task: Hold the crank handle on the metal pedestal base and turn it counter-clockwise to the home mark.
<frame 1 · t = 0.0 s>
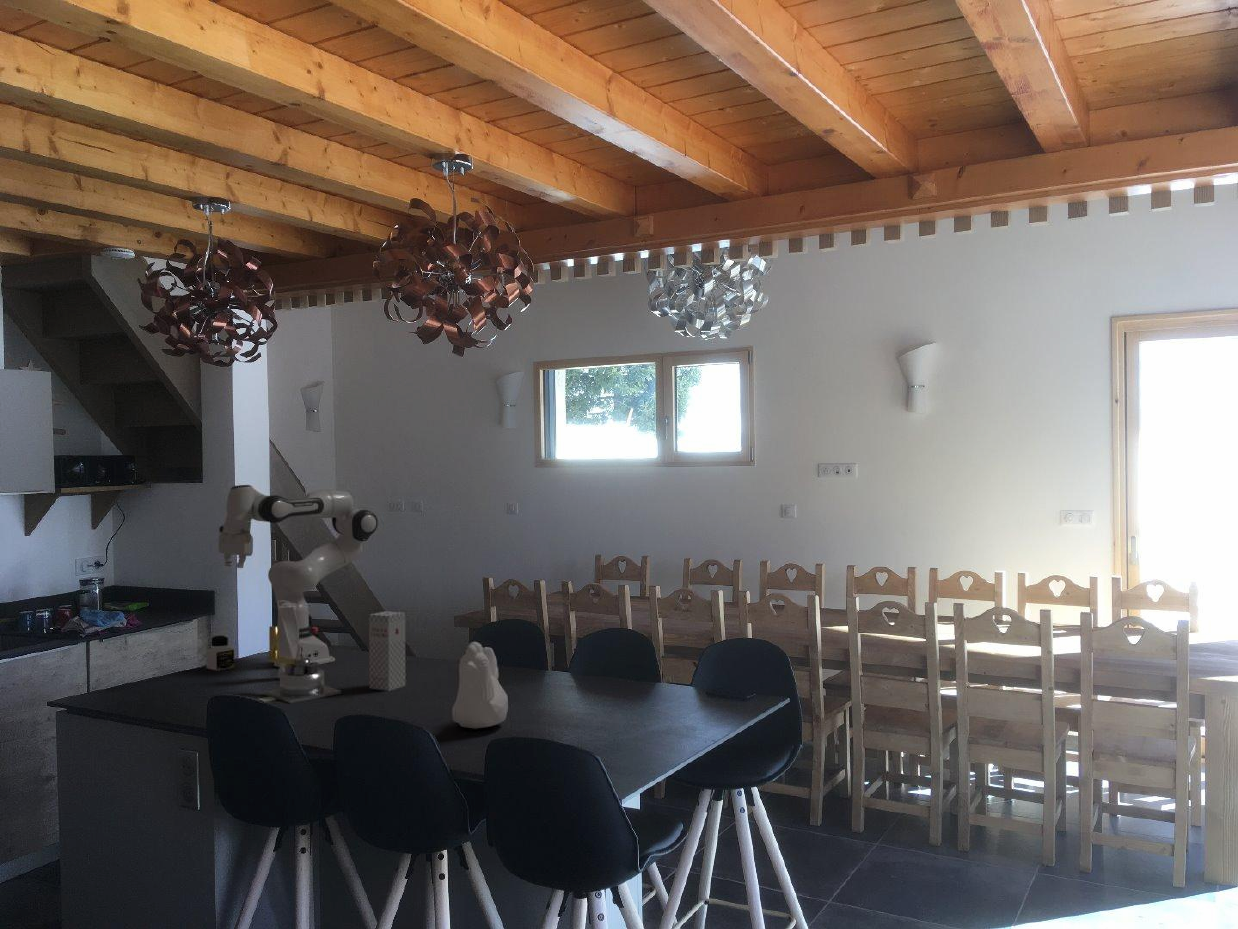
hand: (234, 567, 356), 39 cm above the table, tool pointing down, fingers open, 8 cm apart
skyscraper: (288, 678, 349), on the table
home mark: (266, 700, 316), on the table
medicine bottle: (220, 668, 366), on the table
box: (387, 687, 334), on the table
white figurine: (486, 724, 286), on the table
crank handle: (292, 649, 326), point 14 cm above the table, hinge at 0.0°
metal pedestal base: (302, 694, 324), on the table
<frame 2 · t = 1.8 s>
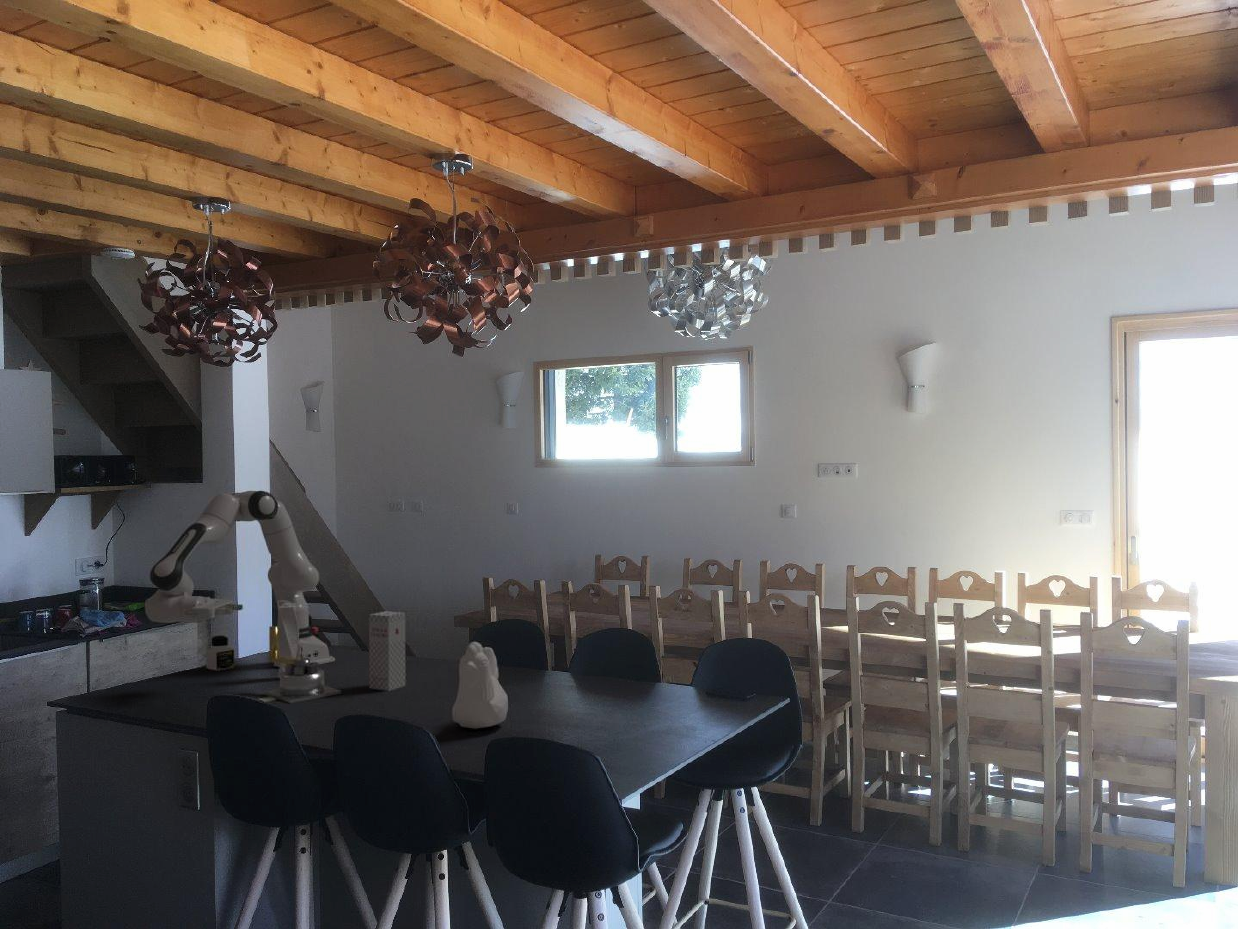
hand: (237, 609, 329), 27 cm above the table, tool horizontal, fingers open, 8 cm apart
nothing on the table moved.
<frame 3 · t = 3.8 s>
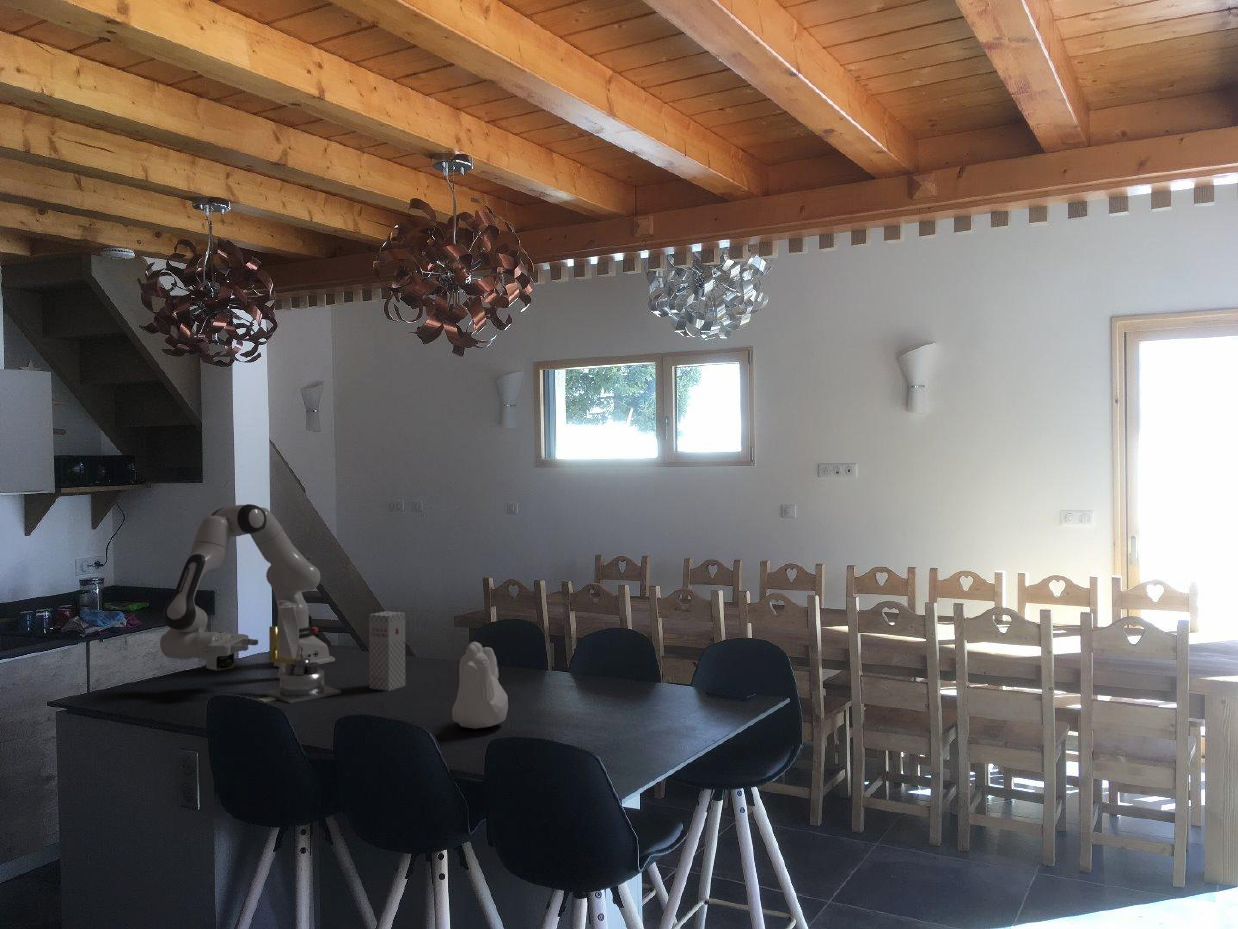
hand: (252, 645, 329), 15 cm above the table, tool horizontal, fingers open, 8 cm apart
nothing on the table moved.
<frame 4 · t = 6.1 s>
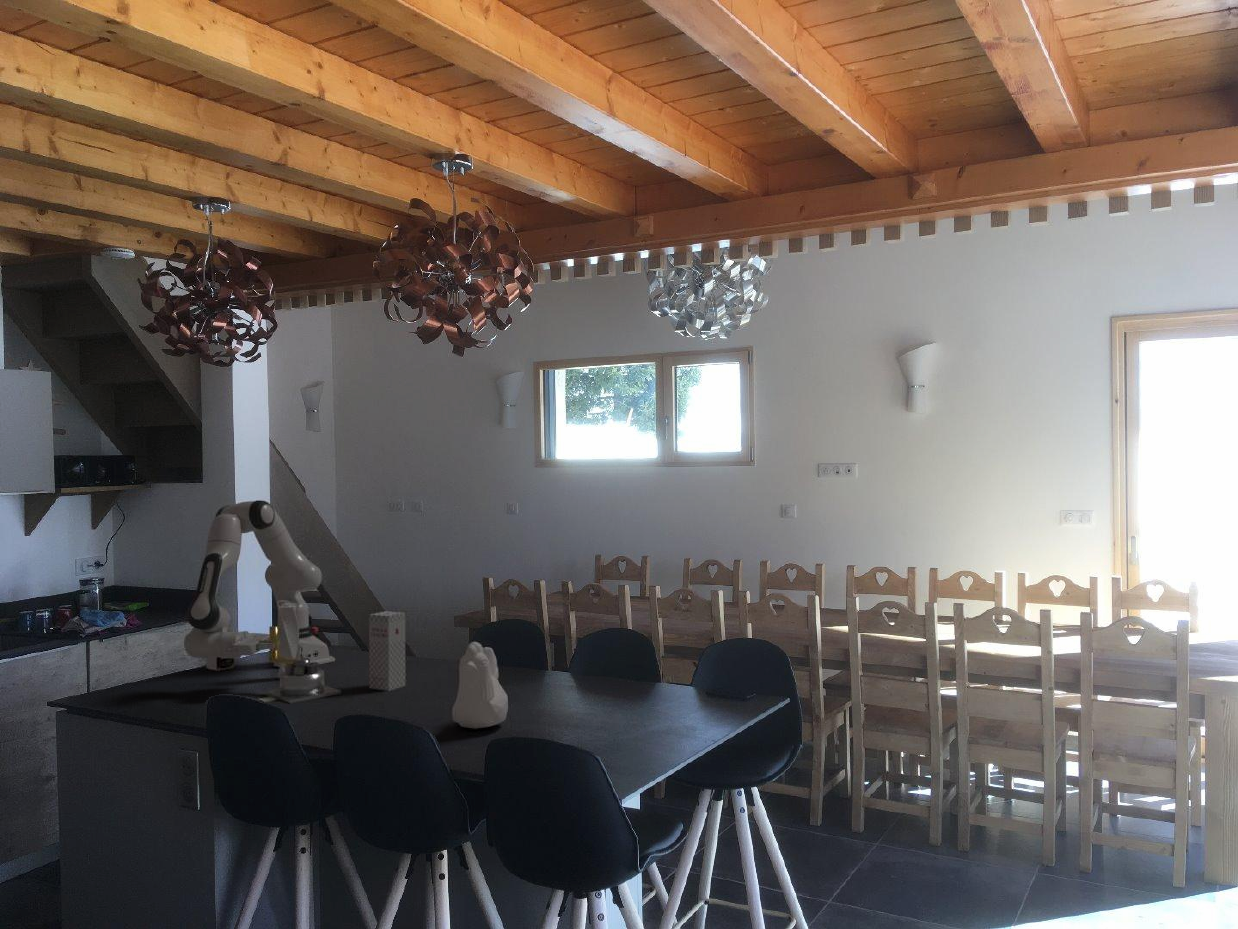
hand: (276, 644, 329), 16 cm above the table, tool horizontal, fingers closed on crank handle, 3 cm apart
crank handle: (292, 649, 326), point 14 cm above the table, hinge at 0.0°, touching gripper
everything else where it was.
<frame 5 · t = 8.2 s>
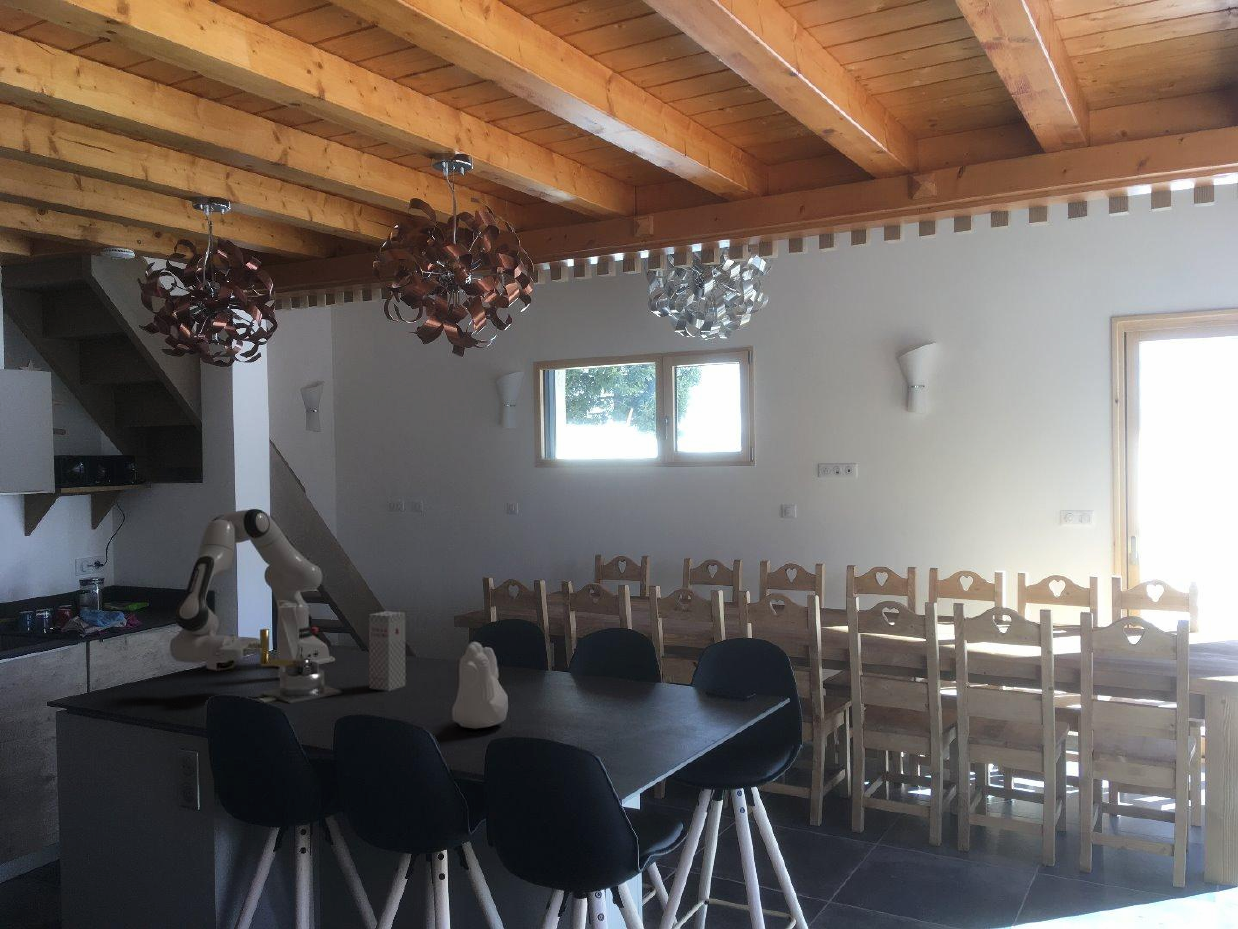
hand: (264, 649, 322), 15 cm above the table, tool horizontal, fingers open, 5 cm apart
crank handle: (289, 650, 324), point 14 cm above the table, hinge at 29.5°, touching gripper
everything else where it was.
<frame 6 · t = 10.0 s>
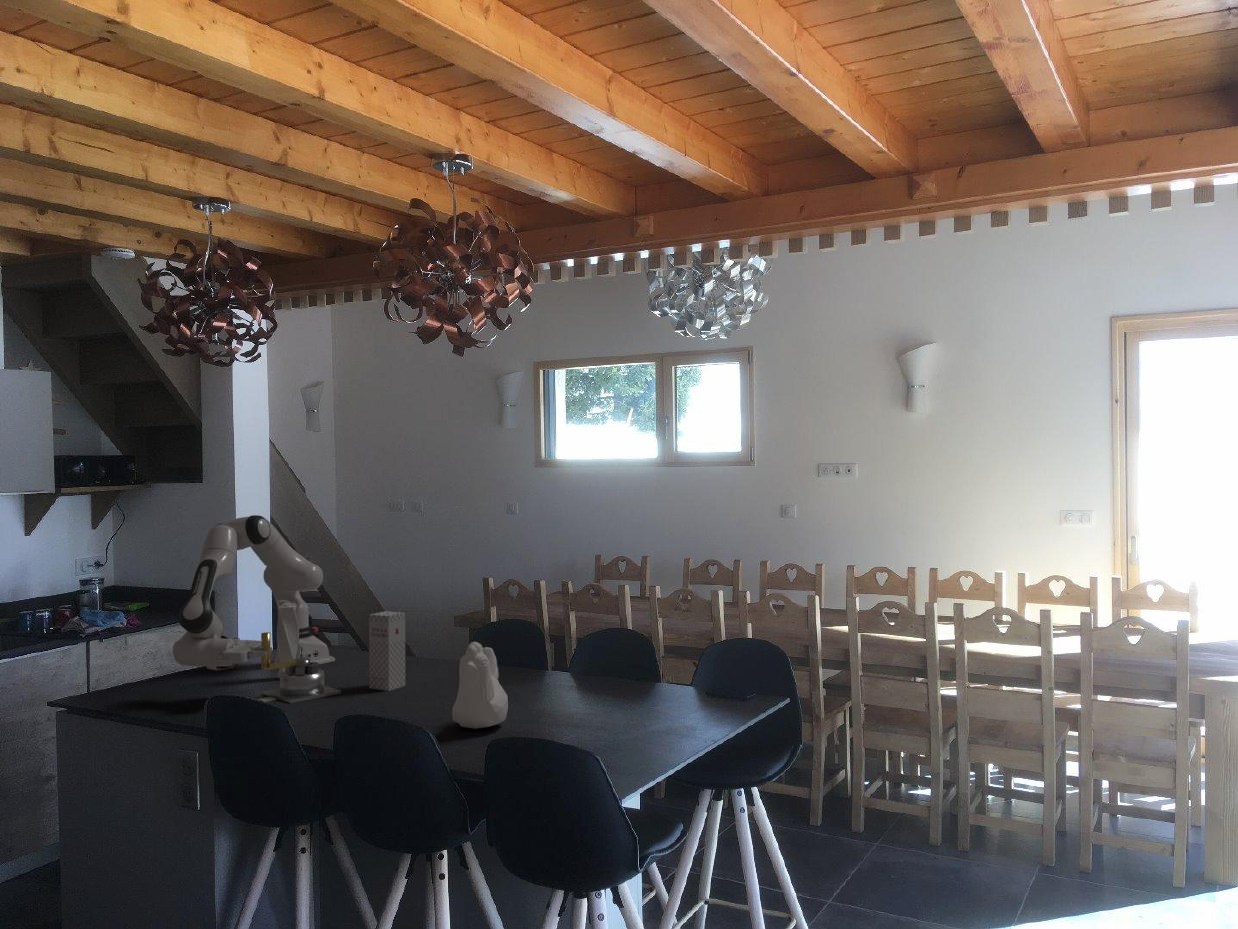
hand: (269, 652, 316), 15 cm above the table, tool horizontal, fingers open, 4 cm apart
crank handle: (289, 652, 322), point 14 cm above the table, hinge at 64.1°
everything else where it was.
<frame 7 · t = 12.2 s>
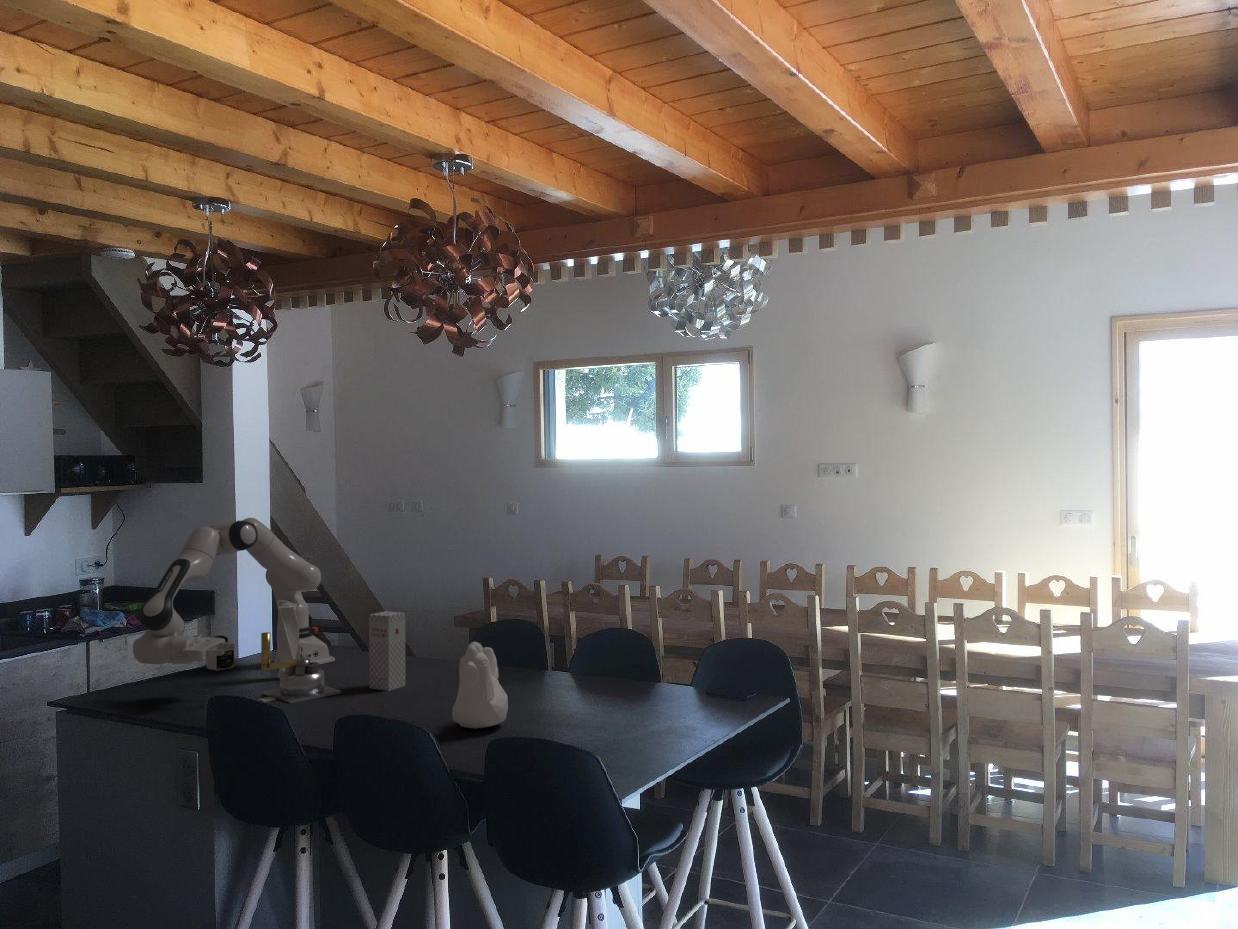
hand: (229, 649, 317), 16 cm above the table, tool horizontal, fingers open, 8 cm apart
nothing on the table moved.
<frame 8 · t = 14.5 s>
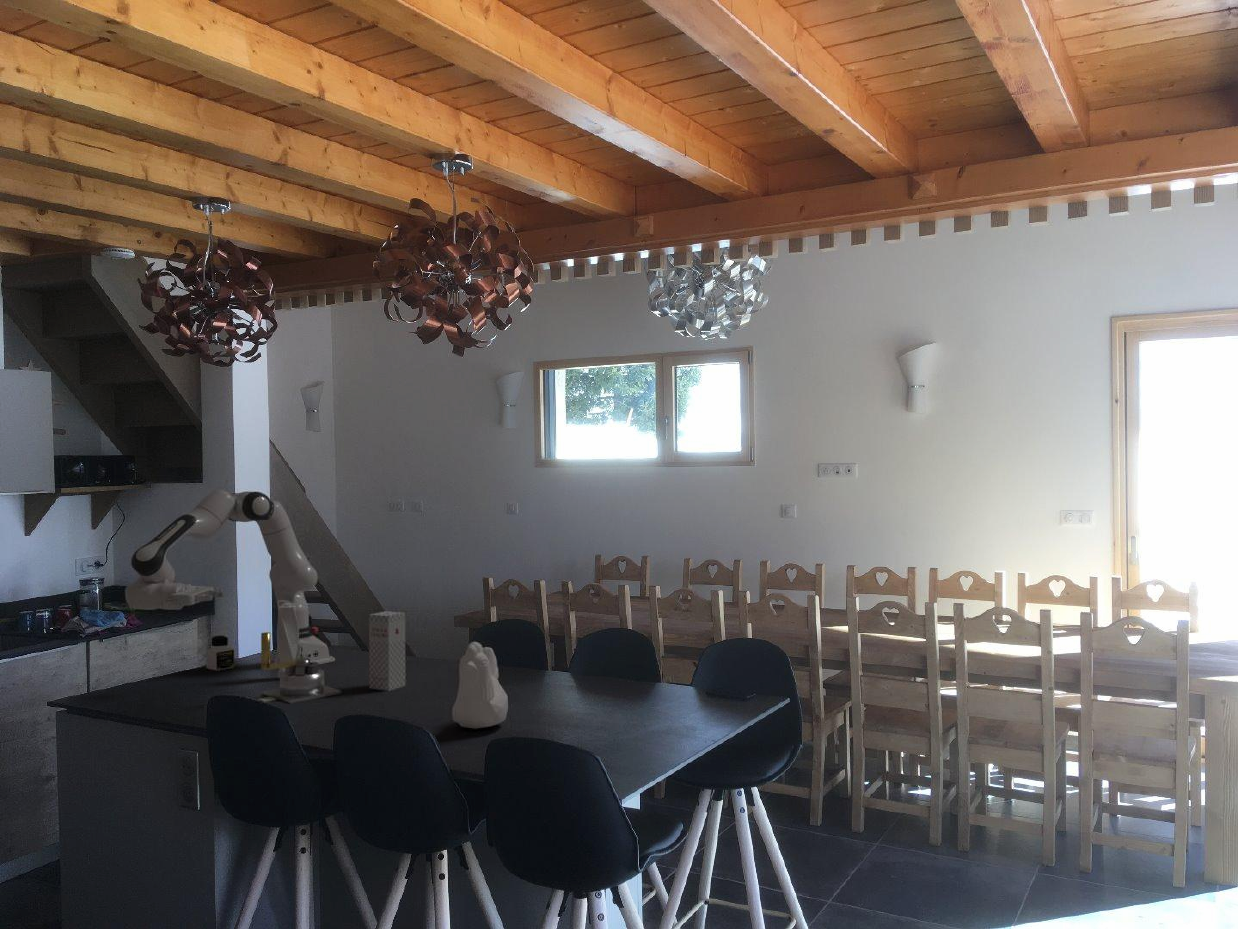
hand: (217, 596, 329), 32 cm above the table, tool horizontal, fingers open, 8 cm apart
nothing on the table moved.
at the end: crank handle at +64° (first picture: +0°); the gripper is holding nothing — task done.
